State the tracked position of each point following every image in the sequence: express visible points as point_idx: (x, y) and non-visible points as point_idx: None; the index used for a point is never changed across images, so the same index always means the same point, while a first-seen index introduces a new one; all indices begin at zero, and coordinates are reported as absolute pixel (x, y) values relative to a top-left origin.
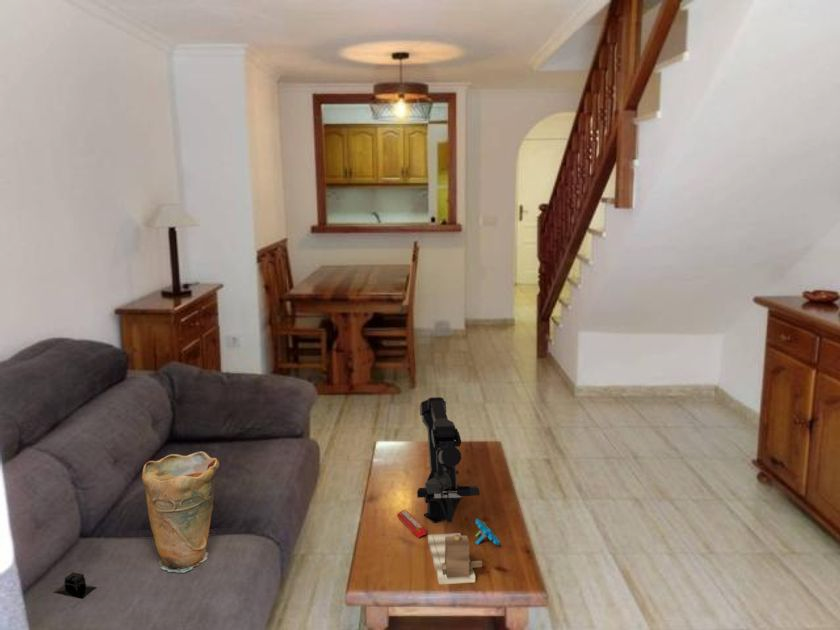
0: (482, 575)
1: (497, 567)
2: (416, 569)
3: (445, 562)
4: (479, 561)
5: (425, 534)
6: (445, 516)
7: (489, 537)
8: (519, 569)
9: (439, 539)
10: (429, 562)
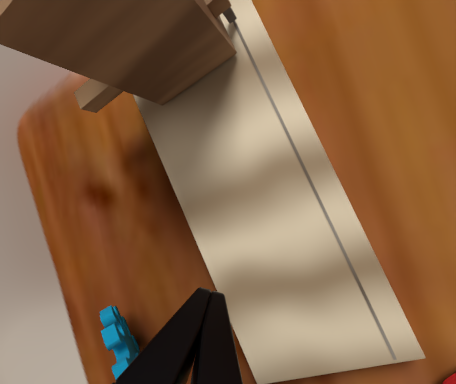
0: (135, 137)
1: (109, 199)
2: (393, 63)
3: (208, 8)
4: (84, 99)
5: (446, 380)
6: (225, 338)
7: (106, 313)
8: (61, 208)
9: (340, 315)
10: (344, 147)
